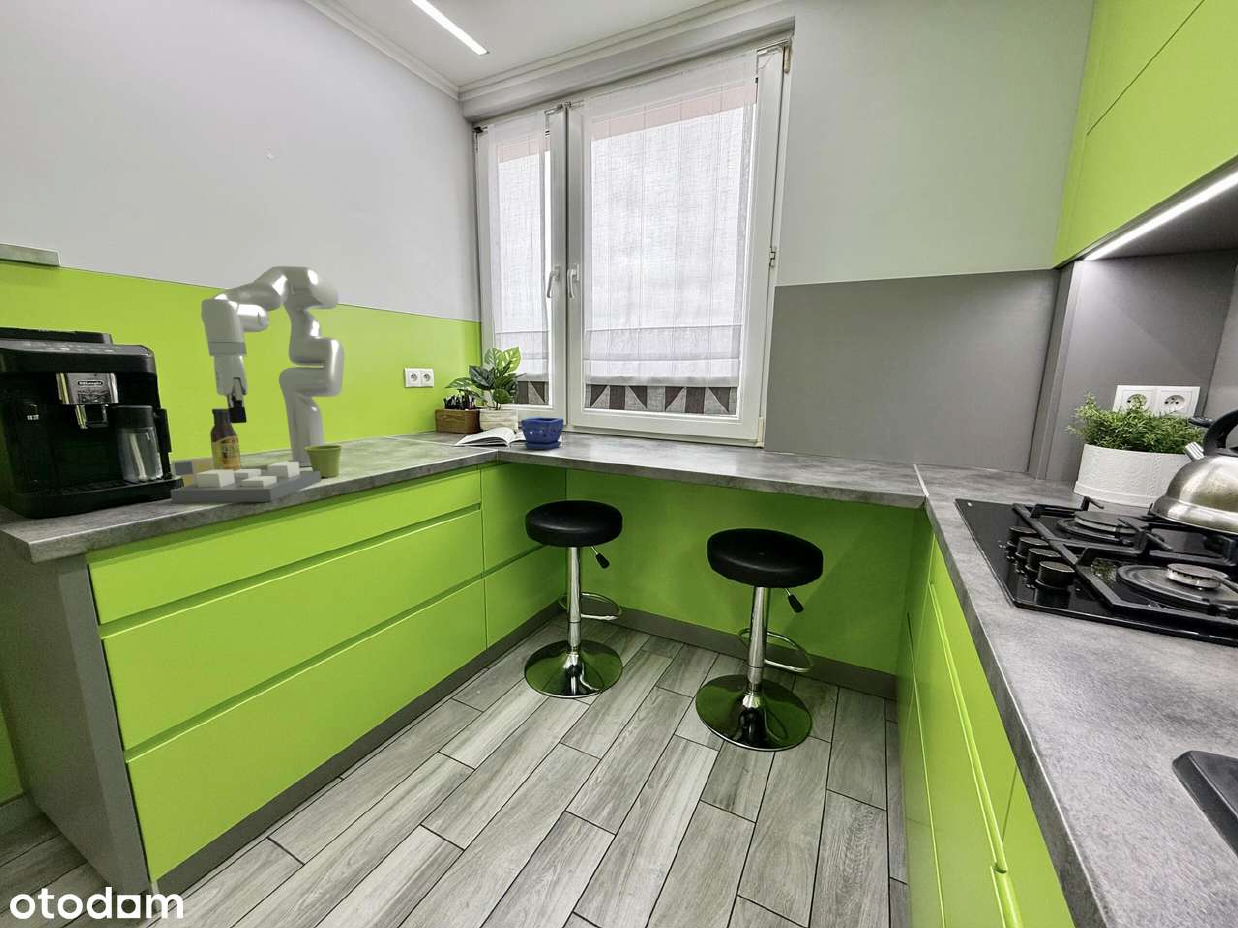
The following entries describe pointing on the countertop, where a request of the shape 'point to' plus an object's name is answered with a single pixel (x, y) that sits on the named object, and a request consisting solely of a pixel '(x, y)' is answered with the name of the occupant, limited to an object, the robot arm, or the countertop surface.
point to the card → (191, 468)
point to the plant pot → (325, 459)
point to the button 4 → (283, 469)
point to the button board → (245, 490)
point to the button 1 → (215, 478)
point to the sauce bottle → (224, 442)
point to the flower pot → (542, 432)
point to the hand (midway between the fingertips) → (238, 422)
